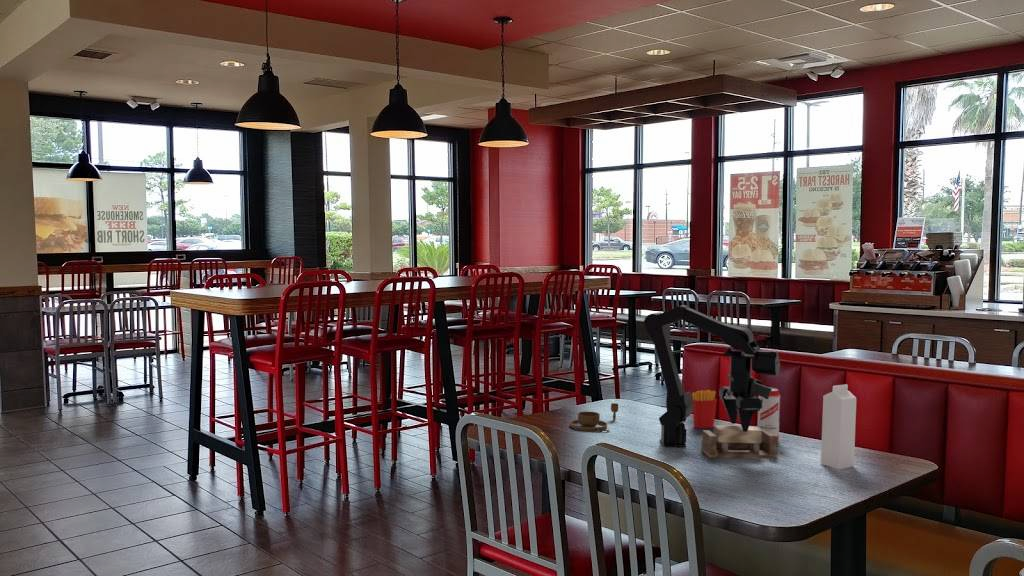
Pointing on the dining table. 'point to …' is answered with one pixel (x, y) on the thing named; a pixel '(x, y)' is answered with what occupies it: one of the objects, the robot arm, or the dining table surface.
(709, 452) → the frame
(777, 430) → the beer can
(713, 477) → the dining table surface
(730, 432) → the board
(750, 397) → the robot arm
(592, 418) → the place setting
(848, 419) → the milk
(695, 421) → the french fries
